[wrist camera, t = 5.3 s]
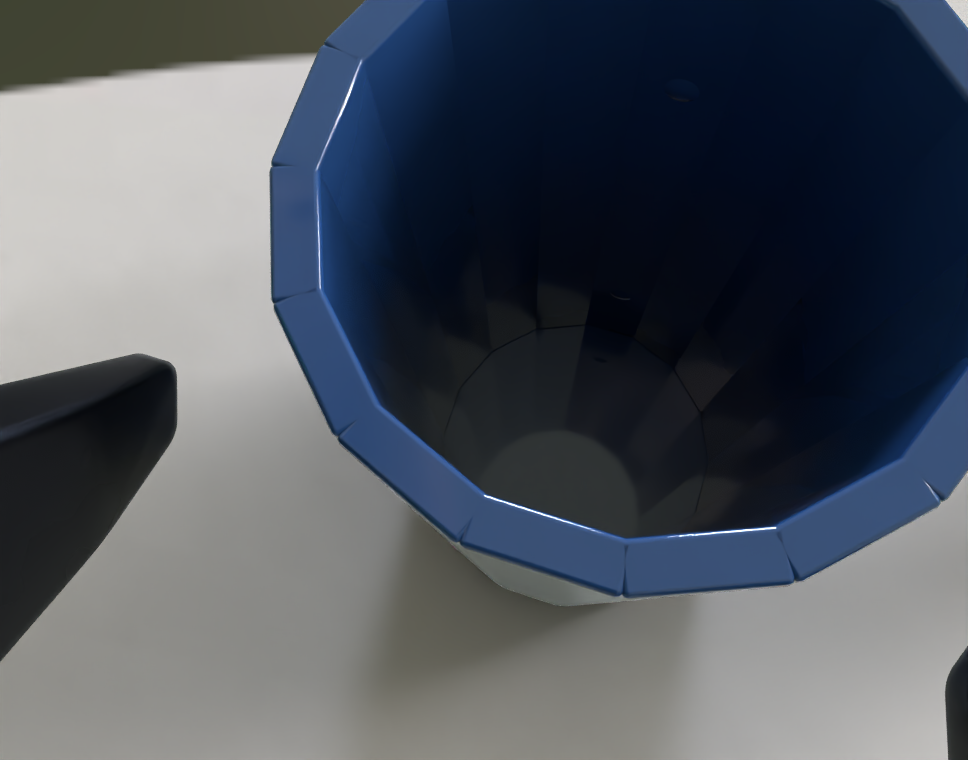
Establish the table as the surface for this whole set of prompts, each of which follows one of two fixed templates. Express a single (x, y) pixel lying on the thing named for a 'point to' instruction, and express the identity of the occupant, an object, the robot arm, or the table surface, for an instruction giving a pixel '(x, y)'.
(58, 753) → the table surface
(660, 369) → the mug
